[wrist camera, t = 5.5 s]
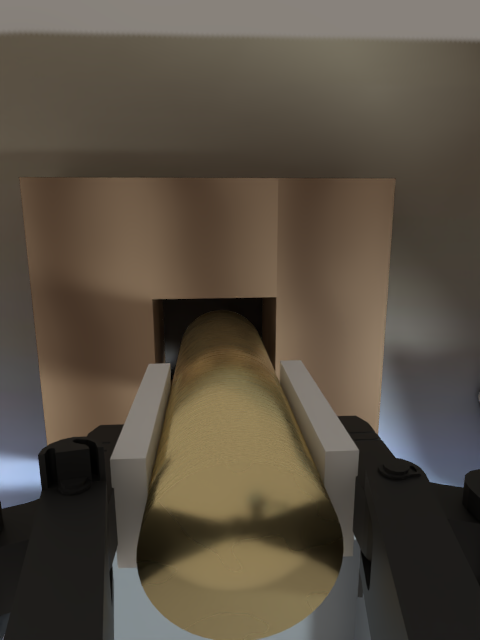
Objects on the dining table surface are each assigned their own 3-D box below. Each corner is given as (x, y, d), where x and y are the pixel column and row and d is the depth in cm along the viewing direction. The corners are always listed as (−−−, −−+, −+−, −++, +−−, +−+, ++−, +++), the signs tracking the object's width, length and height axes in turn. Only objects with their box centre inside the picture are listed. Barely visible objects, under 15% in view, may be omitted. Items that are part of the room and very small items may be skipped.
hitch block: (358, 186, 25) (395, 178, 20) (344, 453, 28) (373, 501, 24) (56, 185, 24) (19, 177, 19) (81, 464, 27) (54, 518, 22)
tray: (373, 480, 29) (399, 521, 25) (359, 682, 33) (380, 745, 29) (50, 495, 28) (24, 541, 24) (72, 705, 31) (53, 775, 27)
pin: (262, 309, 22) (348, 457, 8) (261, 387, 23) (338, 634, 9) (179, 310, 22) (130, 465, 8) (181, 389, 23) (141, 647, 9)
